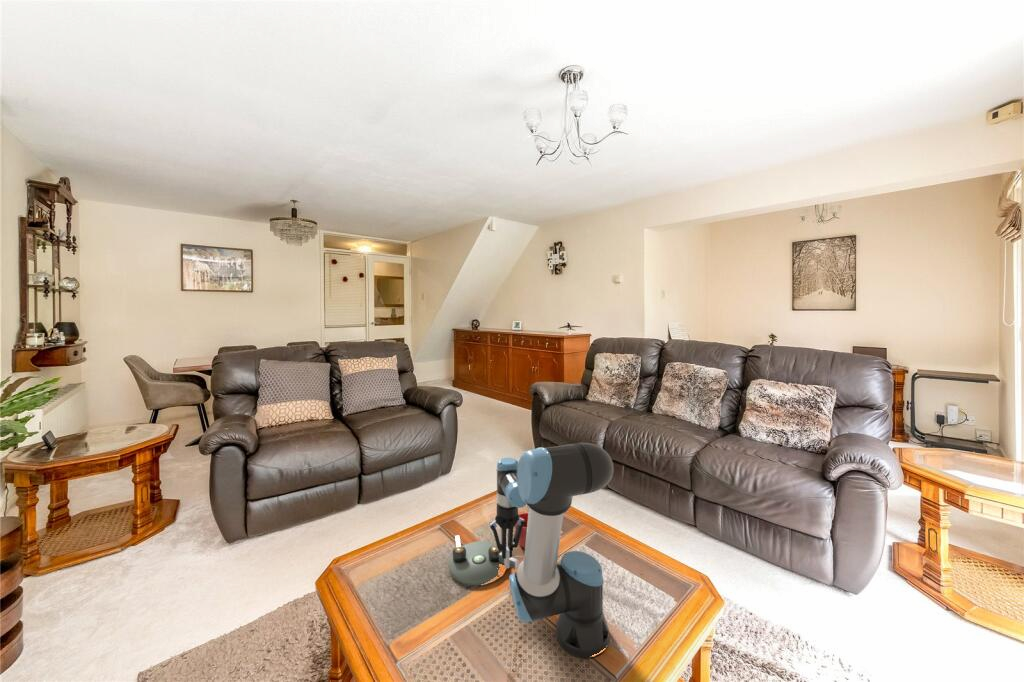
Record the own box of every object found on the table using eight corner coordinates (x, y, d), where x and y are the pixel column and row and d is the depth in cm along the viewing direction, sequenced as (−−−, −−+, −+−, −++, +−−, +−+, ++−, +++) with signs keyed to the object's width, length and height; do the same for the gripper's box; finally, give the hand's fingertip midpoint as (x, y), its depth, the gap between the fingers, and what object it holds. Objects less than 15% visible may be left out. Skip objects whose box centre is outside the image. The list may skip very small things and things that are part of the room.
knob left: (467, 561, 142) (466, 552, 142) (453, 563, 141) (452, 554, 141) (463, 541, 155) (463, 532, 154) (451, 543, 153) (450, 534, 153)
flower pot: (541, 534, 161) (541, 512, 160) (541, 551, 150) (540, 528, 149) (516, 534, 162) (515, 512, 161) (513, 550, 151) (513, 527, 150)
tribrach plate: (514, 579, 136) (514, 573, 136) (451, 591, 131) (451, 585, 131) (502, 542, 157) (502, 536, 157) (447, 551, 152) (447, 545, 152)
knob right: (485, 558, 144) (485, 549, 143) (494, 551, 148) (494, 542, 147) (512, 572, 136) (512, 562, 136) (520, 564, 140) (520, 555, 140)
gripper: (522, 495, 141) (521, 556, 143) (487, 499, 138) (487, 561, 140) (527, 505, 133) (526, 570, 136) (491, 510, 130) (491, 575, 133)
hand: (506, 565), depth 138 cm, fingers closed
